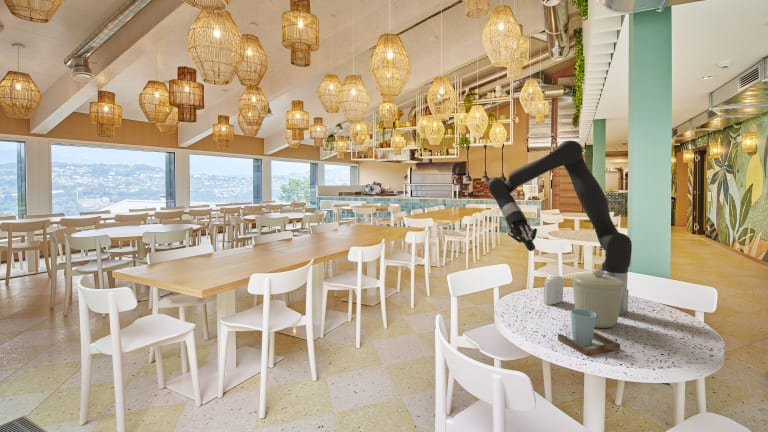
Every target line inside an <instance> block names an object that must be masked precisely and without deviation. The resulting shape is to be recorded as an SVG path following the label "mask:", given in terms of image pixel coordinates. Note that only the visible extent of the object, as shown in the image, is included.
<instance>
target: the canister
mask: <svg viewBox="0 0 768 432" xmlns="http://www.w3.org/2000/svg"><path fill="white" fill-rule="evenodd" d="M570 281H571V282H572V288H573V290H572V291H573V301H574V309H584V310H589V311H592V312H594V313H596V315H597V316H596V321H595V327H594V328H598V329H599V328H600V329H608V328H612V327H614V326H615V325H616V324H617V322H618V319H619V316H620V315H619V311H620V306H621V300H622V295H623V289H624V287H626V284H625V283H624V282H623V281H621V280H620V279H618V278H615V277H612V276H608V275H603V271H602V268H594V269H593V270H592V272H591V273H579V274H575V275H574V276H572V277H570Z"/></svg>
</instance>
